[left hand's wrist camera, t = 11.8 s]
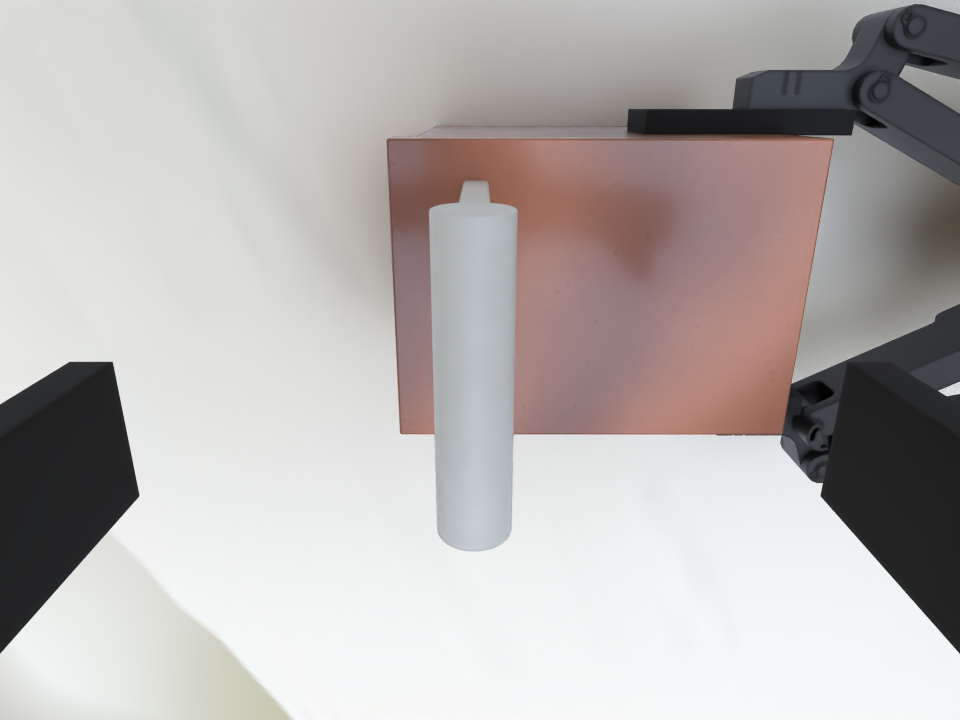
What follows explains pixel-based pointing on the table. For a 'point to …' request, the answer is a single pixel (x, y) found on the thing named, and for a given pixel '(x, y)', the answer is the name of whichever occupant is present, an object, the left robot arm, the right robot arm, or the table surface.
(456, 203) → the lid
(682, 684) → the table surface
